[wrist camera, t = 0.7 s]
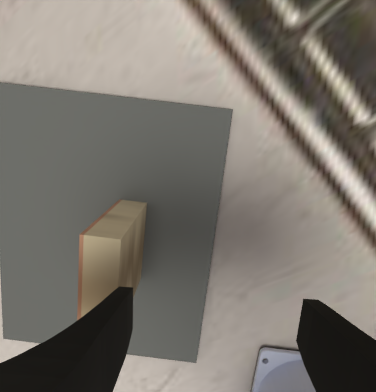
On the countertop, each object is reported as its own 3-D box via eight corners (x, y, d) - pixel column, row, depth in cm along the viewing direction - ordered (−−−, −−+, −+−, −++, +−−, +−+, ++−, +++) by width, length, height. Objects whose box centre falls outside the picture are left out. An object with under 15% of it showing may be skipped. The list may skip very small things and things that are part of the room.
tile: (140, 278, 22) (114, 346, 15) (114, 275, 22) (76, 341, 15) (147, 202, 20) (120, 239, 14) (119, 199, 20) (79, 234, 14)
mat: (196, 357, 24) (196, 362, 23) (8, 333, 24) (3, 338, 23) (231, 110, 19) (232, 109, 19) (-2, 82, 19) (-8, 81, 19)
